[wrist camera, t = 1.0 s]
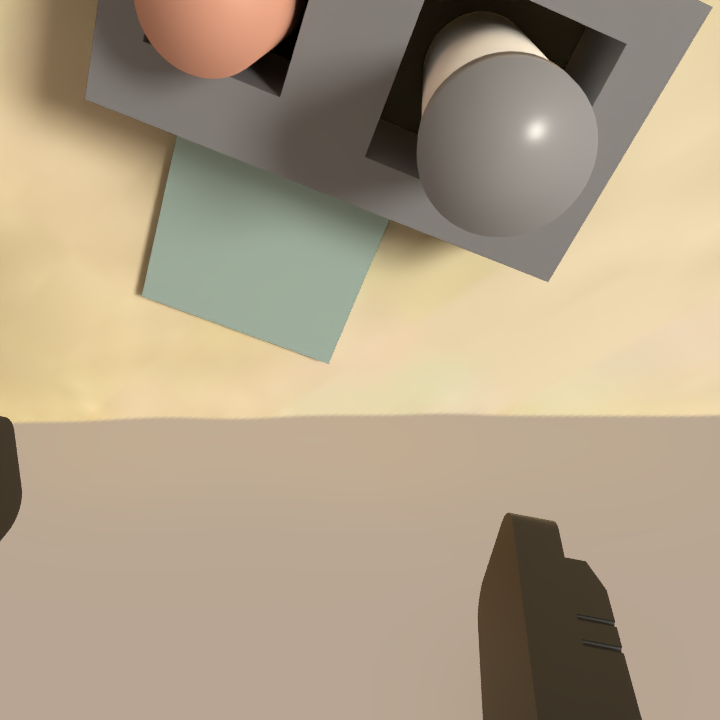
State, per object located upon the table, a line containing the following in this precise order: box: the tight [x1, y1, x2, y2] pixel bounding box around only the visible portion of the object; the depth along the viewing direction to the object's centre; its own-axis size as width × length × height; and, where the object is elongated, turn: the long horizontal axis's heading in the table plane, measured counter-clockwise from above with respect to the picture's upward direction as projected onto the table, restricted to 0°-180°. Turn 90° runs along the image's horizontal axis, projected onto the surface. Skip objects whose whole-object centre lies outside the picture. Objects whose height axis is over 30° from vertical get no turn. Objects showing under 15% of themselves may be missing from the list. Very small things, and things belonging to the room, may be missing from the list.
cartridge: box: [417, 12, 598, 237], centre depth 22 cm, size 5×5×12 cm
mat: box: [142, 136, 390, 364], centre depth 32 cm, size 10×9×1 cm
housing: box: [85, 0, 712, 282], centre depth 24 cm, size 18×10×6 cm, turn 69°
